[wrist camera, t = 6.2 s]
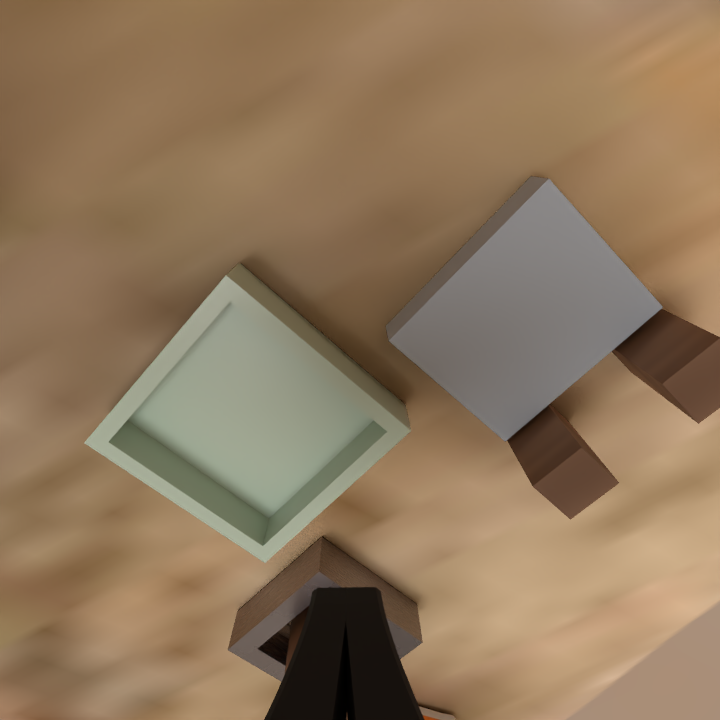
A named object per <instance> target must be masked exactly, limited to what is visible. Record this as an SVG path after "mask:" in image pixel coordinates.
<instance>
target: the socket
mask: <svg viewBox="0 0 720 720" xmlns="http://www.w3.org/2000/svg"><path fill="white" fill-rule="evenodd" d="M333 587H376V588H378V589H379V590H380V591H381V595H382V601H383V606H384V610H385V614H386V618H387V622H388V625H389V628H390V632H391V635H392V638H393V641H394V644H395V647H396V650H397V653H398V655H399V658H400V659H401V658H402V657H404V656H405V655H406V654H408V653H409V652H410V651H412V650H413V649H414V648H416V647H417V646H418V645H420V644H421V643H423V642H422V635H421V629H420V622H419V615H418V608H417V604H416V603H414V602H413V601H412V600H410V599H409V598H407V597H406V596H405V595H403V594H402V593H400V592H399V591H397V590H396V589H395V588H393V587H392V586H390V585H389V584H388V583H386V582H385V581H383V580H382V579H381V578H379V577H378V576H376V575H375V574H374V573H372V572H371V571H369V570H368V569H367V568H365V567H364V566H362V565H361V564H359V563H358V562H357V561H355V560H354V559H352V558H351V557H350V556H348V555H347V554H345V553H344V552H343V551H341V550H340V549H338V548H337V547H336V546H334V545H333V544H331V543H330V542H328V541H327V540H326V539H324V538H323V537H321V538H320V539H319V540H317V541H316V542H315V543H314V544H313V545H312V546H311V547H310V548H308V549H307V550H306V551H305V552H304V553H303V554H302V555H300V556H299V557H298V558H297V559H296V560H295V561H294V562H293V563H291V564H290V565H289V566H288V567H287V568H286V569H285V570H284V571H282V572H281V573H280V574H279V575H278V576H277V577H276V578H274V579H273V580H272V581H271V582H270V583H269V584H268V585H267V586H265V587H264V588H263V589H262V590H261V591H260V592H259V593H257V594H256V595H255V596H254V597H253V598H252V599H251V600H250V601H248V602H247V603H246V604H245V605H244V606H243V607H242V608H240V609H239V610H238V611H237V615H236V619H235V623H234V627H233V631H232V635H231V639H230V643H229V647H228V650H229V651H230V652H232V653H234V654H235V655H237V656H239V657H241V658H242V659H244V660H246V661H247V662H249V663H251V664H252V665H254V666H256V667H258V668H259V669H261V670H263V671H264V672H266V673H268V674H269V675H271V676H273V677H275V678H276V679H278V680H280V681H281V682H282V680H283V677H284V675H285V667H286V659H287V651H288V643H289V636H290V628H291V627H290V626H289V625H287V623H289V622H290V621H291V620H292V619H293V618H295V617H296V616H297V615H298V614H299V613H301V612H302V611H303V610H304V609H305V608H306V607H308V606H309V605H310V600H311V595H312V592H313V591H314V590H315V589H316V588H333Z"/></svg>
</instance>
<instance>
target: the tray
mask: <svg viewBox="0 0 720 720" xmlns="http://www.w3.org/2000/svg"><path fill="white" fill-rule="evenodd" d="M409 432H411V427H410V423H409V418H408V414H407V409H406V405H405V404H404V403H403V402H402V401H400V400H399V399H398V398H397V397H396V396H395V395H393V394H392V393H391V392H390V391H389V390H388V389H386V388H385V387H384V386H383V385H382V384H381V383H379V382H378V381H377V380H376V379H375V378H374V377H372V376H371V375H370V374H369V373H368V372H367V371H365V370H364V369H363V368H362V367H361V366H360V365H358V364H357V363H356V362H355V361H354V360H353V359H351V358H350V357H349V356H348V355H347V354H346V353H344V352H343V351H342V350H341V349H340V348H339V347H337V346H336V345H335V344H334V343H333V342H332V341H330V340H329V339H328V338H327V337H326V336H325V335H323V334H322V333H321V332H320V331H319V330H318V329H316V328H315V327H314V326H313V325H312V324H311V323H309V322H308V321H307V320H306V319H305V318H304V317H302V316H301V315H300V314H299V313H298V312H297V311H295V310H294V309H293V308H292V307H291V306H290V305H288V304H287V303H286V302H285V301H284V300H283V299H281V298H280V297H279V296H278V295H277V294H276V293H274V292H273V291H272V290H271V289H270V288H269V287H267V286H266V285H265V284H264V283H263V282H262V281H260V280H259V279H258V278H257V277H256V276H255V275H253V274H252V273H251V272H250V271H249V270H248V269H246V268H245V267H244V266H243V265H242V264H241V263H238V264H237V265H236V266H235V267H234V268H233V269H232V270H231V271H230V272H229V273H228V274H227V275H226V276H225V277H224V278H223V279H222V280H221V282H220V283H219V284H218V285H217V286H216V288H215V289H214V290H213V291H212V292H211V294H210V295H209V296H208V297H207V298H206V299H205V301H204V302H203V303H202V304H201V305H200V307H199V308H198V309H197V310H196V311H195V312H194V314H193V315H192V316H191V317H190V318H189V320H188V321H187V322H186V323H185V324H184V325H183V327H182V328H181V329H180V330H179V331H178V333H177V334H176V335H175V336H174V337H173V338H172V340H171V341H170V342H169V343H168V344H167V346H166V347H165V348H164V349H163V350H162V352H161V353H160V354H159V355H158V356H157V357H156V359H155V360H154V361H153V362H152V363H151V365H150V366H149V367H148V368H147V369H146V370H145V372H144V373H143V374H142V375H141V376H140V378H139V379H138V380H137V381H136V382H135V383H134V385H133V386H132V387H131V388H130V389H129V391H128V392H127V393H126V394H125V395H124V396H123V398H122V399H121V400H120V401H119V402H118V404H117V405H116V406H115V407H114V408H113V410H112V411H111V412H110V413H109V414H108V415H107V417H106V418H105V419H104V420H103V421H102V423H101V424H100V425H99V426H98V427H97V428H96V430H95V431H94V432H93V433H92V434H91V436H90V437H89V438H88V439H87V440H86V441H85V444H87V445H88V446H90V447H91V448H93V449H94V450H96V451H97V452H99V453H100V454H102V455H103V456H105V457H106V458H108V459H109V460H111V461H112V462H114V463H115V464H117V465H118V466H120V467H121V468H123V469H124V470H126V471H127V472H129V473H130V474H132V475H133V476H135V477H136V478H138V479H139V480H141V481H142V482H144V483H145V484H147V485H148V486H150V487H151V488H153V489H154V490H156V491H157V492H159V493H160V494H162V495H163V496H165V497H166V498H168V499H169V500H171V501H172V502H174V503H175V504H177V505H178V506H180V507H181V508H183V509H185V510H186V511H188V512H189V513H191V514H192V515H194V516H195V517H197V518H198V519H200V520H201V521H203V522H204V523H206V524H207V525H209V526H210V527H212V528H213V529H215V530H216V531H218V532H219V533H221V534H222V535H224V536H225V537H227V538H228V539H230V540H231V541H233V542H234V543H236V544H237V545H239V546H240V547H242V548H243V549H245V550H246V551H248V552H249V553H251V554H252V555H254V556H255V557H257V558H258V559H260V560H261V561H263V562H264V563H266V562H267V561H268V560H269V559H270V558H271V557H272V556H273V555H274V554H275V553H277V552H278V551H279V550H280V549H281V548H282V547H283V546H284V545H285V544H287V543H288V542H289V541H290V540H291V539H292V538H293V537H294V536H295V535H297V534H298V533H299V532H300V531H301V530H302V529H303V528H304V527H305V526H306V525H308V524H309V523H310V522H311V521H312V520H313V519H314V518H315V517H316V516H318V515H319V514H320V513H321V512H322V511H323V510H324V509H325V508H326V507H328V506H329V505H330V504H331V503H332V502H333V501H334V500H335V499H336V498H337V497H339V496H340V495H341V494H342V493H343V492H344V491H345V490H346V489H347V488H349V487H350V486H351V485H352V484H353V483H354V482H355V481H356V480H357V479H359V478H360V477H361V476H362V475H363V474H364V473H365V472H366V471H367V470H368V469H370V468H371V467H372V466H373V465H374V464H375V463H376V462H377V461H378V460H380V459H381V458H382V457H383V456H384V455H385V454H386V453H387V452H388V451H390V450H391V449H392V448H393V447H394V446H395V445H396V444H397V443H398V442H399V441H401V440H402V439H403V438H404V437H405V436H406V435H407V434H408V433H409Z"/></svg>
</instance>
